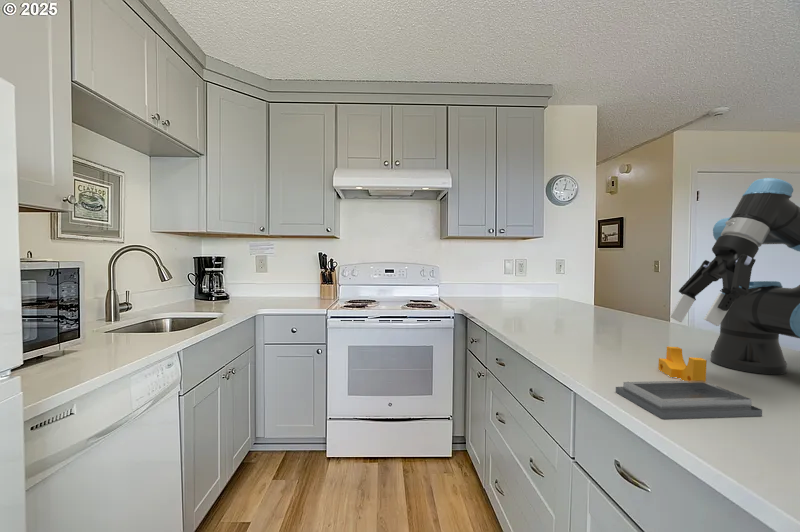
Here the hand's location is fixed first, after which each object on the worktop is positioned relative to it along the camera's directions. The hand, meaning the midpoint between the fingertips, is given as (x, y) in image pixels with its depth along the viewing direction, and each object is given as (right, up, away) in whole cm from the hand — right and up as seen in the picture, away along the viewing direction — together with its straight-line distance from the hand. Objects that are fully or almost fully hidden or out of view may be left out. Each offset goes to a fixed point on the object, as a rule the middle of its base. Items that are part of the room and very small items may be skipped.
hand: (691, 321), depth 86 cm
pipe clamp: (+1, -15, +5) cm, 16 cm away
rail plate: (-10, -15, -10) cm, 21 cm away
